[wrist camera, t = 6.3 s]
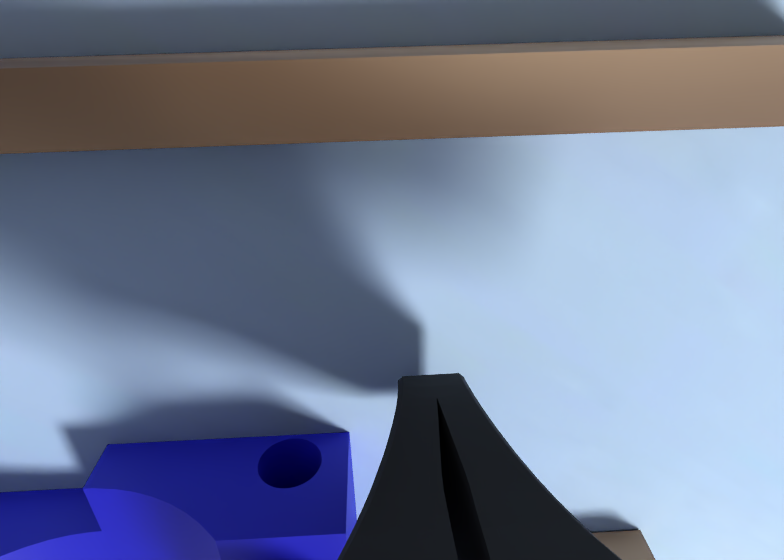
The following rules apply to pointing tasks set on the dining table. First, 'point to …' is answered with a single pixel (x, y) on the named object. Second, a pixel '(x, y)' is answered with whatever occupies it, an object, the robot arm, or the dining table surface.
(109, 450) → the cable clip
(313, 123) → the guide lane
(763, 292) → the dining table surface
